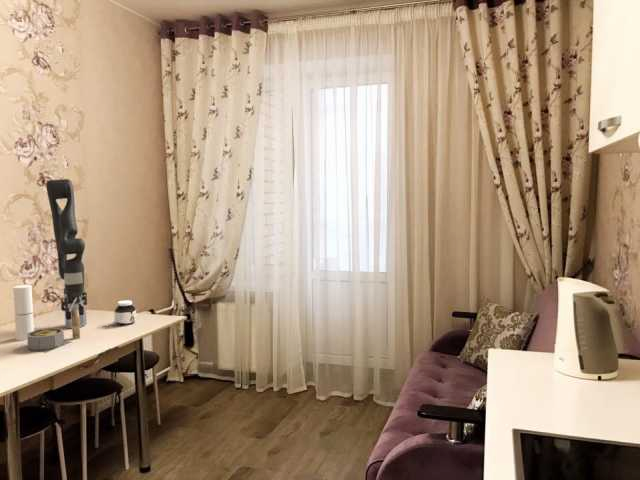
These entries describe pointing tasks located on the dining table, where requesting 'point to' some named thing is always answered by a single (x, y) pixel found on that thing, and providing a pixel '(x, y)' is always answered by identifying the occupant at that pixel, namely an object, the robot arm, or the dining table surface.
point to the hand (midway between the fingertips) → (75, 317)
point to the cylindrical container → (23, 311)
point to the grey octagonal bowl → (45, 339)
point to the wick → (75, 324)
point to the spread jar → (125, 313)
